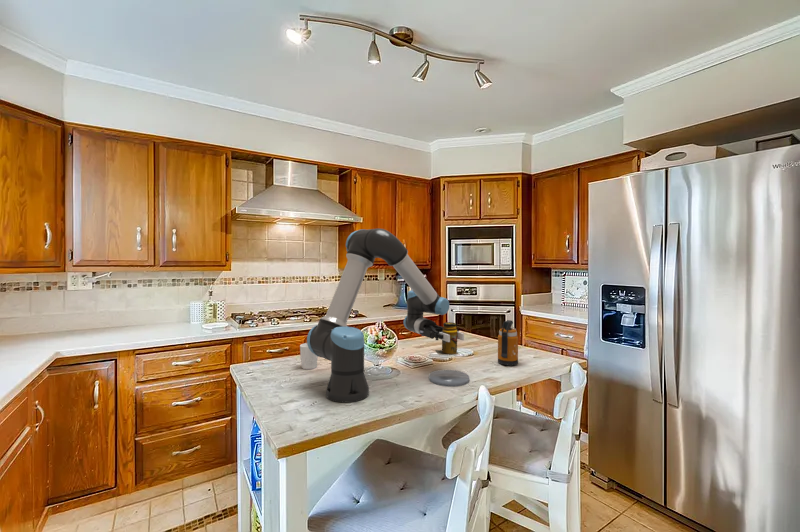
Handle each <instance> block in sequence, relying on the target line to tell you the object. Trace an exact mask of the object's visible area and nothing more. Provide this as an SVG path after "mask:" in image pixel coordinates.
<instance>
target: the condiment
mask: <svg viewBox="0 0 800 532" xmlns="http://www.w3.org/2000/svg"><path fill="white" fill-rule="evenodd" d="M442 327H443V330H442V333H445V334H448V335H450V342H446V341H444V340H441V349H434V351H435V353H436V354H437V355H438V356H460V355H461V353H459V352H458V339H457V330H456V329H457V323H456V322H451V321H450V322H449V321H447V322H444V323H443V324H442Z"/></svg>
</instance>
